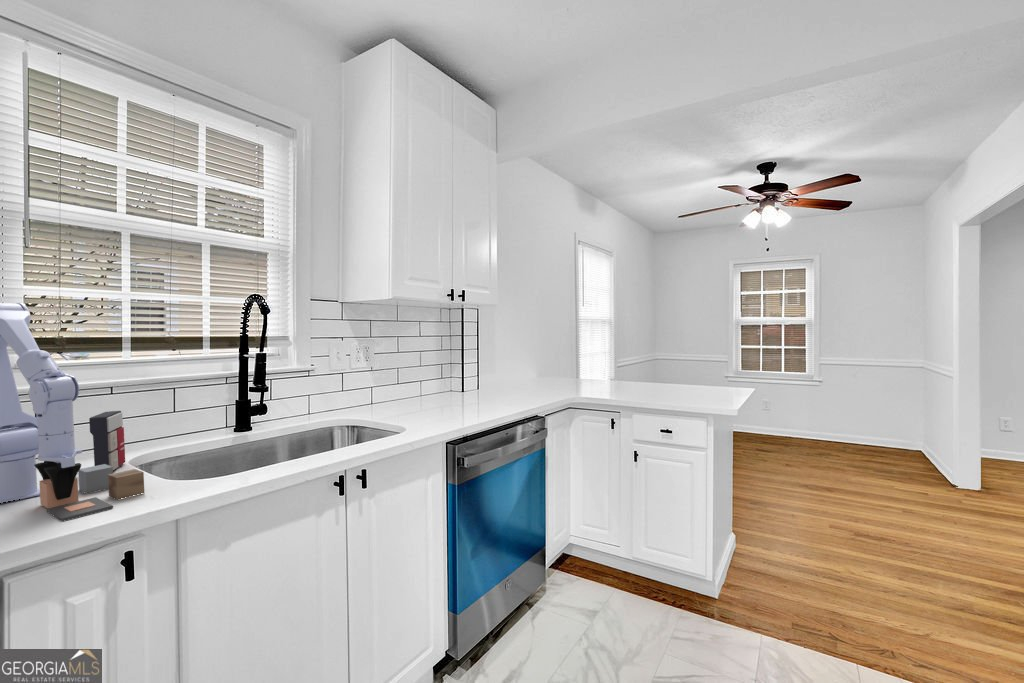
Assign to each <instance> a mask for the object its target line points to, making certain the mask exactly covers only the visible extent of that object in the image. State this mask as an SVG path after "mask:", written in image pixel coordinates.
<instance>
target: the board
mask: <svg viewBox="0 0 1024 683" xmlns="http://www.w3.org/2000/svg"><path fill="white" fill-rule="evenodd" d="M112 508H113V509H114V505H113V504H111V503H109V502H106V501H104V500H103V499H100V498H98V497H97V496H95V497H91V498H87V499H82V500H79V501H77V502H73V503H69V504H65V505H60V506H56V507H52V508H46V512H47V513H48V512H49V513H48V514H50V515H51V514H52V515H51V516H53V515H54V516H53V517H55V518H56V517H57V520H59V521H61V520H62V521H61V522H65V521H64V520H66V521H69V520H68V519H70V520H73V519H72V518H74V519H77V518H76V517H78V518H80V517H79V516H81V517H84V516H83V515H85V516H88V515H87V514H89V515H92V514H91V513H93V514H96V513H95V512H97V513H100V512H99V511H101V512H103V510H105V511H108V510H107V509H109V510H112Z"/></svg>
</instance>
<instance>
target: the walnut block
mask: <svg viewBox="0 0 1024 683" xmlns="http://www.w3.org/2000/svg"><path fill="white" fill-rule="evenodd" d="M144 475H145V474H144V471H142V470H138V469H136V468H133V469H129V470H124V471H123V470H122V471H119V472H113V474H108V485H109V489H108V496H110V498H111V497H112V498H111V499H114V498H115V499H114V500H116V499H117V500H116V501H119V500H118V499H121V498H125V497H129V496H133V495H137V494H141V493H144V494H145V478H144ZM141 495H142V494H141ZM137 496H138V495H137ZM133 497H134V496H133ZM129 498H130V497H129ZM125 499H126V498H125ZM121 500H122V499H121Z"/></svg>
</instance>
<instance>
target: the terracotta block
mask: <svg viewBox="0 0 1024 683" xmlns="http://www.w3.org/2000/svg"><path fill="white" fill-rule="evenodd" d="M39 490H40V495H39V496H40V497H39V499H40V505H41V506H43V507H45V508H46V509H48V508H52V507H56V506H61V505H65V504H69V503H73V502H78V501H80V500H79V478H78V477H77V476H76V477H75V480H74V484H73V488H72V493H71V496H70V497H69V498H64V499H60V500H57V499H56V496H55V494H54V489H53V485H52V482H51V480H50V479H46V480H43V479H41V480H39Z"/></svg>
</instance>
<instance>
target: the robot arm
mask: <svg viewBox="0 0 1024 683" xmlns="http://www.w3.org/2000/svg"><path fill="white" fill-rule="evenodd" d="M30 323H31V314H30V310H29V308H28V307H27V305H26V304H24V303H22V302H16V303H15V302H14V303H9V302H0V503H1V504H4V503H3V502H6V503H9V502H8V501H11V502H14V501H13V500H15V501H20V500H24V499H28V498H34V497H37V496H40V488H38V480H37V479H38V476H37V470H38V472H39V474H40V476H41V478H42V480H46V479H50V480H51V482H52V485H53V489H54V494H55V496H56V499H57V500H60V499H64V498H69V497H70V496H71V493H72V488H73V484H74V480H75V477H76V478H77V474H78V471H79V469H82V468H81V467H82V463H80V462H77V463H75V462H76V461H75V460H76V459H75V457H76V456H77V455H79V454H83V449H81V448H76V444H75V443H76V442H75V423H74V422H75V421H74V404H73V403H74V402H75V401H76V400H78V397H79V394H80V386H79V382H78V380H77V379H76V377H75V376H73V375H71V374H68V373H67V372H63V371H62V370H61V368H60V367H59V365H58V364H57V362H56V360H55V359H54V358H53V355H51V354H50V352H48V351H46V350H41V349H40V348H39V345H38V344H37V341H36V339H35V337H34V336H33V334H32V332H31V330H30V328H29V327H30ZM8 346H9V347H10V348H11V349H12V351H14V352H15V354H16V355H17V356H18V358H17V360H16V362H15V365H16V367H17V368H18V370H19V371H20V373H21V374H22V376H23V378H24V379H25V380H26V382H27V384H28V385H29V391H28V393H27V394H28V398H29V400H30V402H31V404H32V411H33V413H34V414H36V416H34V415H31V414H29V413H26V412H24V411H23V408H22V403H21V400H20V396H19V392H18V388H17V385H16V381H15V376H14V373H13V369H12V365H11V360H10V356H9V353H8V348H7V347H8ZM36 455H37V456H36ZM36 458H37V459H36ZM37 460H38V461H41V462H38V463H37ZM19 499H20V500H19Z"/></svg>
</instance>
